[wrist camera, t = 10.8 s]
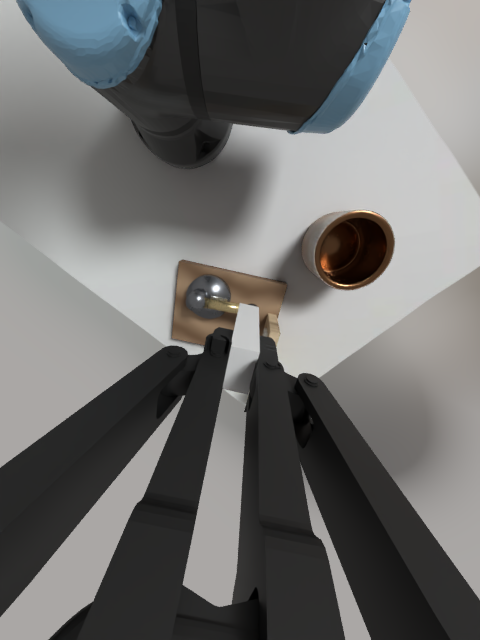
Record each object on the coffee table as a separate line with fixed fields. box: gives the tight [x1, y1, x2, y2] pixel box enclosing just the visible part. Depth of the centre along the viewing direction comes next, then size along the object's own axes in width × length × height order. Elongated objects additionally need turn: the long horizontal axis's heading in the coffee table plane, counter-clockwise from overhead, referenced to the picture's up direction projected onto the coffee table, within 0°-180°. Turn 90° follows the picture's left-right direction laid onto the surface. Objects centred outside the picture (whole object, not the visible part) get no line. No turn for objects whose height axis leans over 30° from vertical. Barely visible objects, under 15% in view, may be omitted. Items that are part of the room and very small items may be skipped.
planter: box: [302, 210, 395, 290], centre depth 35 cm, size 11×11×10 cm
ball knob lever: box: [186, 274, 258, 319], centre depth 40 cm, size 13×8×6 cm, turn 81°
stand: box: [172, 260, 287, 346], centre depth 41 cm, size 16×20×10 cm
